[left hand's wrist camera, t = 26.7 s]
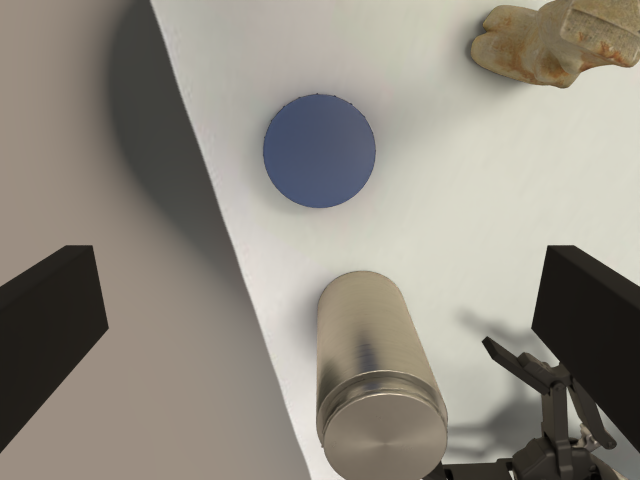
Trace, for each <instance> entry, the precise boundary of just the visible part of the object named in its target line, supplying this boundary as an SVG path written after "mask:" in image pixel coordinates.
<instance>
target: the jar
mask: <svg viewBox="0 0 640 480" xmlns="http://www.w3.org/2000/svg"><path fill="white" fill-rule="evenodd" d="M447 422H448V416H447V410H446V406H445V403H444V401H443V398H442V395H441V393H440V390H439V388H438V385H437V383H436V380H435V378H434V375H433V373H432V370H431V367H430V365H429V362H428V360H427V357H426V355H425V352H424V350H423V347H422V344H421V342H420V339H419V337H418V334H417V332H416V329H415V327H414V324H413V321H412V319H411V316H410V314H409V311H408V309H407V306H406V304H405V301H404V298H403V296H402V294H401V292H400V290H399V289H398V287H397V286H396V285H395V284H394V283H393V282H392V281H391V280H389V279H388V278H386V277H385V276H383V275H380V274H378V273H374V272H369V271H357V272H351V273H347V274H345V275H342V276H340V277H338V278H337V279H335V280H334V281H332V282H331V283H330V284H329V285H328V286H327V287H326V289H325V290H324V291H323V293H322V295H321V297H320V299H319V303H318V312H317V402H316V427H317V434H318V437H319V440H320V442H321V444H322V446H321V447H322V448H324V452H325V455H326V458H327V460H328V462H329V464H330V465H331V467H332V468H333V469H334V470H335V471H336V472H337V473H338V474H339V475H340V476H341V477H343V478H344V479H346V480H420V479H422V478H423V477H425V476H426V475H427V474H429V473H430V472H431V471H432V470H433V469H434V468H435V467H436V466H437V465H438V464H439V462H440V461H441V459H442V457H443V455H444V453H445V450H446V446H447V433H448V432H447Z"/></svg>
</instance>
